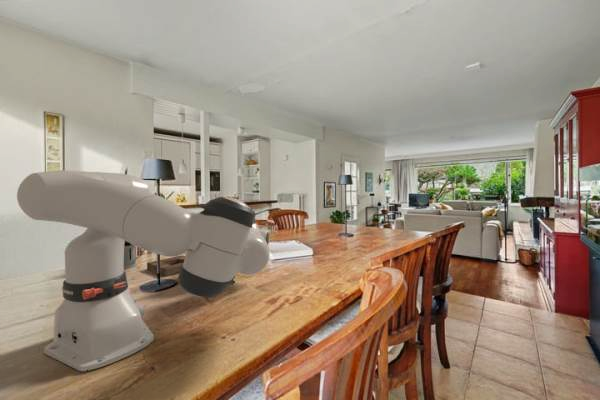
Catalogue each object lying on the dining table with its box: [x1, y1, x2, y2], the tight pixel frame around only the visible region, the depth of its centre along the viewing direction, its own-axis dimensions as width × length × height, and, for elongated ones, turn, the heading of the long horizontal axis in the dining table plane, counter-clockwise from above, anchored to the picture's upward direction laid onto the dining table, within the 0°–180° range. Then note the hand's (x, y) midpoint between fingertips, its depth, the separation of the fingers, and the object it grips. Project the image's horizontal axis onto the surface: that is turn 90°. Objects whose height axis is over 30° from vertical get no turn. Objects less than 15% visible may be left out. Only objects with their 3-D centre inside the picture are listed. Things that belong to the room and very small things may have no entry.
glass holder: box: [124, 241, 146, 270], centre depth 120 cm, size 9×14×15 cm, turn 84°
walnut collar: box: [146, 254, 186, 277], centre depth 118 cm, size 16×16×3 cm
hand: (198, 237), depth 110 cm, fingers closed on cork, 4 cm apart
